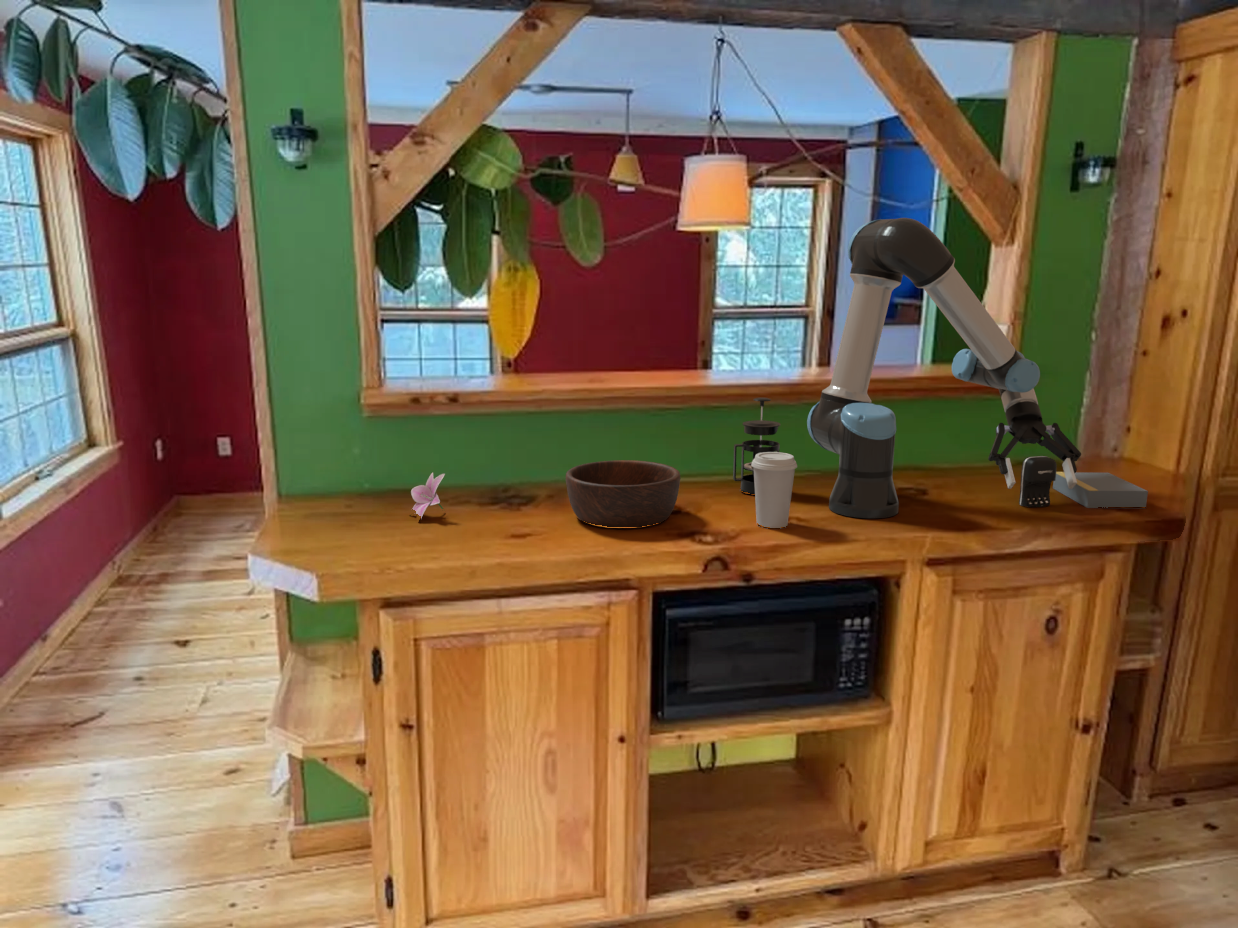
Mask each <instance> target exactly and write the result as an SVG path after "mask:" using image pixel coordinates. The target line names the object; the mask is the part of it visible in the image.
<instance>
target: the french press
mask: <svg viewBox="0 0 1238 928" xmlns="http://www.w3.org/2000/svg"><path fill="white" fill-rule="evenodd" d="M752 401H755V402H759V407H761V408H760V419H758V420H757V419H756V420H755V419H754V420H748V421H747V420H746V421H743V422H742V426H743V427H744V431H743V432H744V433H745V434H747V435H750V436H751V435H753V436H759V439H749V440H745V441H742V443H734V444H733V467H732V469H733V472H732V474H733V475H732V480H734V481H735V482H740V489H741V491H743V492H748V493H750V494H755V484H754V468H753V467H752V466H751V464H752V461H751V462H747V463H745V452H750V453H752V460H753V459H755V455H756V454H758V453H763V452H780V448H781V447H780V442H778V441H774V440H769V439H768V440H767V439H763V437H762V436H773V435H775V434H777V432H778V429H779V428H780V427H781V423H780V422H777V421H774V420H773V421H772V420H766V419H765V420H763V413H764V412H763V411H764V410H763V408H764V406H765V402H770V401H772V399H771V398H768V397H755V398H753V400H752ZM739 447H741V464H740V465H741V470H740V471H741V473H740V477H736V476H737V448H739ZM744 470H745V471H748V472H752V473H749V474H744V473H745V472H744ZM740 489H739V490H740Z"/></svg>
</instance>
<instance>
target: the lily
mask: <svg viewBox="0 0 1238 928" xmlns="http://www.w3.org/2000/svg"><path fill="white" fill-rule="evenodd" d="M445 475H446V473H441V474H439V475H438V476H436V477H435V478H434V472H432V473H430V475H429V477H428V478H427V480H426V482H425V485H424V484H420V485H417V486H414V487H413V488H412V489H411V491H410V494H411V497H412V500H413V501H414V503H415V502H416V503H415V504H414V505H413V507H411V508H412V509H413V510H415V511H416V513H415V515H416V514H418V515H419V516H421V519H422V517H423V515H424V513H425V511H426V510H427V508H428V506H434V505H438V506H439V507H440V509H441V510H442V509H444V508H443V506H442V505H441V504H440V502H441V500H440V498H439V495H438V493H437V489H438V487H439V486H440V483H441V482H442V480H443V478H444V477H445ZM412 509H411V510H412Z"/></svg>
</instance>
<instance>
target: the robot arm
mask: <svg viewBox="0 0 1238 928" xmlns="http://www.w3.org/2000/svg"><path fill="white" fill-rule="evenodd" d="M847 256H848V259H849V260H850V263H851V267H850V271H849V277H850V278H851V281H853V289H852V292H851V297H850V300H849V301H850V302H849V305H848V310H847V313H846V318H845V322H844V327H843V330H842V334H841V339H840V342H839V343H840V344H839V349H838V351H837V357H836V360H835V364H834V368H833V372H832V377H831V380H830V385H829V386H827V387H826V388H824V389H822V391H821V394H820V399H819V401H818V402H817V403H816V404H815V405H813V406H812V407H811V409H810V411H809V413H808V415H807V420H806V425H807V431H808V434H809V436H810V437H811V439H812V440H813V442H814V443H816V444H817V445H819V446H820V448H822V449H823V450H826V451H829V452H832V453H835V454H837V455H838V456H839V458H838V459H839V460H838V462H839V463H838V476H837V478H836V480H835V483H834V485H833V488H832V491H831V493H830V496H829V501H828V502H829V503H828V509H829V510H830V511H831V512H833V513H835V514H838V515H842V516H845V517H851V518H858V519H885V518H890V517H894V516H896V515H897V514H898V513H899V506H900V502H899V499H898V495H897V491H896V487H895V484H894V483H895V482H894V480H893V472H894V471H893V470H894V458H895V457H894V455H895V441H896V432H897V420H896V414H895V413H894V411H893V410H892V409H890V408H889V407H886V406H884V405H881V404H875V403H872V401H873V400H871V398H870V396H869V394H868V389H869V386H870V381H871V377H872V373H873V370H874V369H873V368H874V365H875V361H876V357H877V353H878V349H879V345H880V342H881V341H880V340H881V337H882V334H883V333H882V332H883V330H884V324H885V320H886V316H887V313H888V310H889V308H888V307H889V305H890V300H891V296H892V292H893V291H894V289H896V288H898V287H899V286H900V285H901V284H902V281H903V276H905V277H906V278H908V279H909V280H910V281H911V282H912V284H913V285H914V286H915V287H916V288H918V289H923V290H924V291H925V292H926V293H927V295H928V296H929V297H930V299H931V300H932V301H933V303H934V305H936V306H937V307H938V309H939V310H940V312H941V313H942V314H943V316H944V317H945V318H946V319H947V321H948V322H949V323H950V324H951V326H952V327H953V328H954V329H955V331H956V332H957V334H958V335H959V336H960V337H961V338H962V340H963V341H964V342H965V344H966V345H967V346H968V348H963V349H961V350H959V351H958V352H957V353H956V354H955V355H954V357H953V359H952V363H951V373H952V375H953V376H954V377H955V379H958V380H962V381H963V382H968V383H971V384H977V385H980V386H985V387H990V388H992V389H993V388H994V389H998V392H999V396H1000V398H1001V403H1002V407H1003V409H1004V413H1005V417H1006V418H1005V419H1006V422H1007V425H1005V423H1003V422H999V423H998V425H997V427H996V429H995V439H994V442H993V444H992V447H991V450H990V452H989V455H988V458H987V459H988V461H990V462H995V464H996V466H998V469H999V472H1000V474H1001V475H1004V478H1005V482H1006V485H1007V489H1010V490H1011V489H1012V488H1013V487H1014V486H1015V484H1016V483H1017V482H1016V479H1015V475H1014V471H1013V467H1012V463H1011V458H1010V457H1007V456H1009V454H1010V453H1011V451H1012V450H1013V449H1014V448H1015V446H1016V445H1017V444H1018V443H1021V444H1022V445H1024V444H1025V445H1026V444H1032V445H1036V444H1038V445H1039V446H1041V447H1044V448H1046V450H1047V451H1049V452H1051V453H1052V454H1053V455H1055V456H1056V457H1058V458H1059V459H1060V460H1061V461H1062V464H1061V466H1062V470H1063V472H1064V473H1065V477H1066V480H1067V484H1068V487H1069V489H1072V488H1073V487H1074V486H1075V485H1076V483H1077V480H1076V477H1075V473H1076V472H1077V466H1076V462H1077V461H1078V460H1079V458H1080V457H1081V456H1082V453H1081V451H1080V450H1079V449H1078V447H1076V446H1075V445H1074V443H1073V442H1072V441H1071V440H1070V439H1069V438H1068V437H1067V436H1066V435H1065V434H1064V432H1063V431H1062V430H1061V428H1060V426H1059V424H1058V423H1057V422H1053V423H1052V424H1050V425H1046V424H1044V422H1043V416H1042V412H1041V409H1040V405H1039V402H1038V397H1037V395H1036V392H1035V387H1036V386H1037V385H1038V383H1039V382H1040V378H1041V371H1040V367H1039V366H1038V364H1037V363H1036V362H1035V361H1033V360H1030V359H1028V358H1026V357H1025V356H1024V354H1023V353H1022V352H1020V351H1018V350H1017V349H1016V348H1015V346H1014V345H1013V344H1012V343H1011V341H1010V340H1009V338H1008V337H1007V335H1006V334H1005V333H1004V332H1003V331H1002V329H1001V328H1000V327H999V325H998V323H996V321H995V320H994V318H993V317H992V316H991V314H990V313H989V312H988V310H987V309H986V307H985V306H984V305H983V304H982V303H981V301H980V299H979V298H978V297H977V295H976V293H974V291H973V290H972V289H971V288H970V286H969V285H968V283H967V282H966V280H965V279H964V278H963V277H962V275H961V274H960V273H959V271H958V269H956V267H955V262H956V259H955V257H954V256H953V254H951V252H950V251H949V249H948V248H947V247H946V246H945V244H944V243H943V242H942V241H941V239H939V237H938V236H937V235H936V234H935V233H934V232H933V231H932V230H931V229H930V228H929V227H927V226H926V225H925V224H923V223H922V222H920V221H918V220H916V219H914V218H911V217H910V218H909V217H900V218H886V219H883V218H882V219H881V218H880V219H875V220H871V221H869V222H865V223H864V224H862V225H861V226H859V227H858V228H857V229H856V230H855V231H854V232H853V234H852V236H851V237H850V239H849V242H848V246H847ZM1006 433H1009V434H1010V435H1011V436H1012V439H1011V440H1010V441H1009V443H1008V444H1007V445H1006V447H1004V449H1003V450H1002V452H1001V453H999V450H1000V447H1001V445H1002V442H1003V438H1004V435H1006ZM1042 438H1043V439H1042Z"/></svg>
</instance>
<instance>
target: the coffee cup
mask: <svg viewBox="0 0 1238 928" xmlns="http://www.w3.org/2000/svg"><path fill="white" fill-rule="evenodd" d="M751 462H752V464H751V466H752V467H753V468H754V484H755V496H754V497H755V500H754V501H755V502H754V503H755V516H756V524H757V523H758V524H759V525H762V526H764V527H770V528H780V529H782V528H781V527H785V528H787V527H786V526H788V524H789V516H790V508H791V500H792V493H793V492H792V491H793V486H794V485H793V484H794V476H795V471H796V470H795V469H797V468H798V464H797V461H796V460H795V456H794V455H792V454H790V453H786V452H780V451H779V452H777V451H775V452H763V453H758V454H756V455H755V459H753V458H752V461H751Z"/></svg>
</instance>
